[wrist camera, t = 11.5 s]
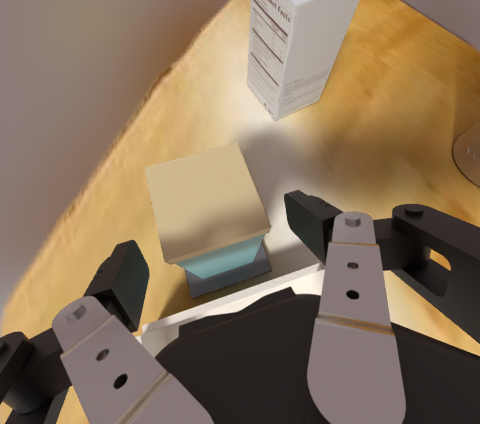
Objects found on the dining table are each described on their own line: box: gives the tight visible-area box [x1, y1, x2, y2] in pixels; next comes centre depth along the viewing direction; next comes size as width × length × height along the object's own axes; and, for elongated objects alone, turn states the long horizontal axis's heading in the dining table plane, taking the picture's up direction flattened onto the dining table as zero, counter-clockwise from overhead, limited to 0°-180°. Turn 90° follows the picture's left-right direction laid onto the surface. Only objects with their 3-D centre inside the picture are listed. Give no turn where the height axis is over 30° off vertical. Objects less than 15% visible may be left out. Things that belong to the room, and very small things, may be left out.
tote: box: [135, 263, 325, 357], centre depth 17 cm, size 15×13×6 cm
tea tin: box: [144, 143, 271, 279], centre depth 17 cm, size 5×5×12 cm
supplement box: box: [247, 0, 359, 121], centre depth 25 cm, size 7×7×13 cm
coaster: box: [185, 242, 272, 298], centre depth 23 cm, size 8×8×1 cm
